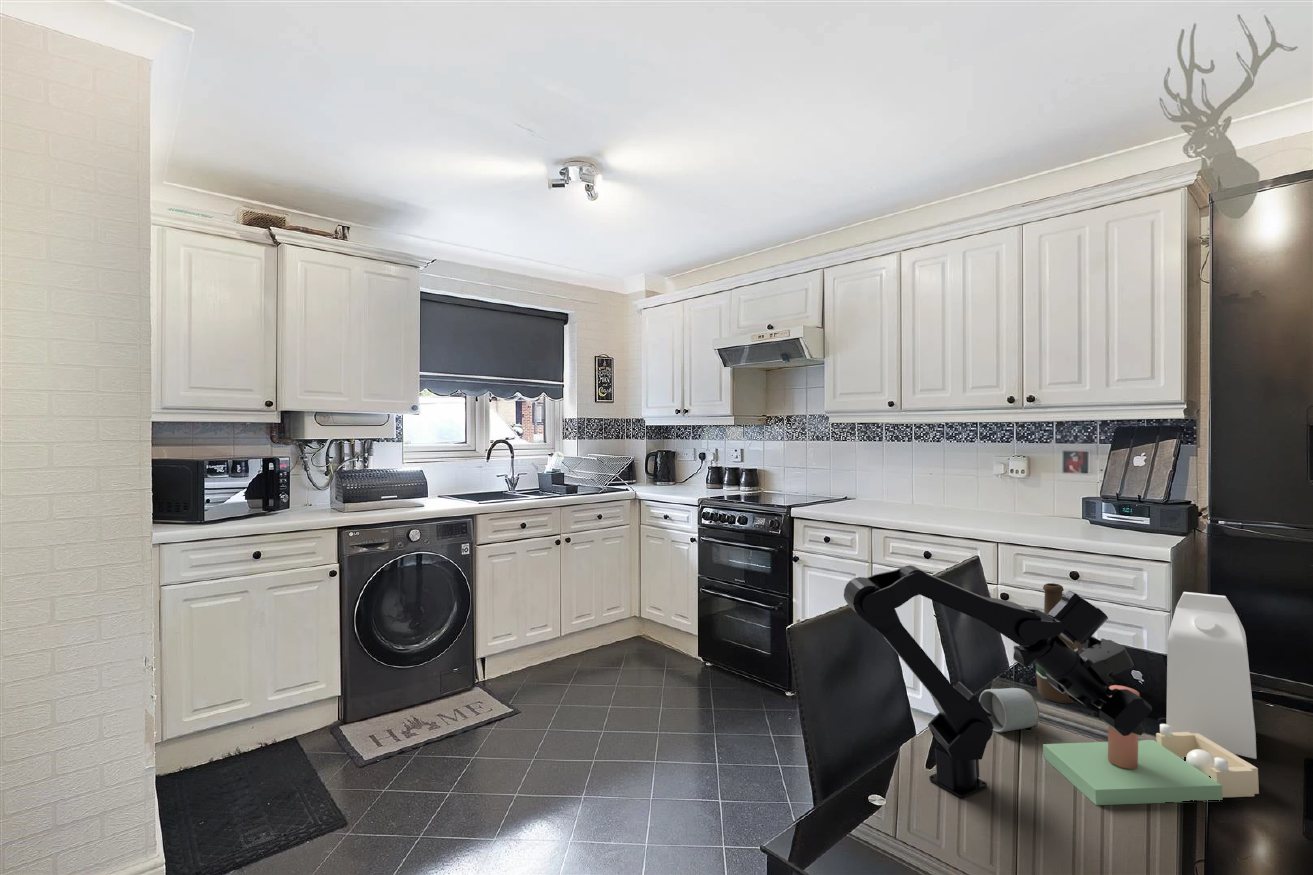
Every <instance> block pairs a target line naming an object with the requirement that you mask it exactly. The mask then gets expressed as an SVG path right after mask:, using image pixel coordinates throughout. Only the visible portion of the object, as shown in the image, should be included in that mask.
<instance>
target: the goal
mask: <svg viewBox="0 0 1313 875" xmlns="http://www.w3.org/2000/svg"><path fill="white" fill-rule="evenodd" d="M1155 739H1156V740H1155V741H1156V742H1157V743H1159V744H1160V745H1162V746H1163V747H1165V748H1166V749H1168V750H1169V751H1171V752H1172V753H1174V754H1175V755H1177V756H1178V757H1186V756H1187V754H1188V753H1189V752H1190V751H1192V750H1195V749H1200V750H1204V751H1206V752H1208V753H1210V754H1211V755H1212V756H1213V757H1214V763H1215V768H1210V777H1211V779H1213V780H1214V781H1216V782H1218V783H1219V784H1221V785H1222V797H1223V798H1241V797H1242V798H1244V797H1255V795H1259V794H1260V791H1259V790H1260V789H1259V768H1258V767H1256V766H1255V765H1253V764H1251V763H1250V762H1248V761H1246V760H1244V759H1243V758H1241V757H1239V755H1237V754H1233V753H1231V752H1229V751H1228V750H1226V749H1224V748H1223V747H1221V746H1219V745H1218V744H1216V743H1214V742H1212V741H1211V740H1209V739H1207V738H1206V737H1204V736H1202V735H1201V734H1199V733H1192V734H1191V733H1190V732H1172V727H1171V726H1170V725H1167V724H1166V723H1160V724H1159V732H1157V733H1155Z"/></svg>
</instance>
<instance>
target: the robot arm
mask: <svg viewBox="0 0 1313 875" xmlns="http://www.w3.org/2000/svg"><path fill="white" fill-rule="evenodd" d="M917 596H921V597H924V598H926V599H929V600H932V601H933V602H936V603H938V604H941V605H943V606H945V607H948V608H950V609H952V610H954V611H957V612H959V613H961V614H963V615H967V616H969V617H972V618H973V619H975V620H979V621H981V622H983V623H984V624H986V625H987V626H988V627H990V628H992V629H993V630H994V631H996V632H998V633H1000V634H1001V635H1003V636H1004V637H1006V638H1008V639H1009V640H1010V641H1012V642H1013V643H1014V644H1017V645H1014V646H1013V649H1014V652H1013V661H1015V662H1017V664H1018V663H1019V664H1020V665H1021V666H1023V667H1024V668H1028V667H1030V665H1031V664H1032V663H1033V662H1034V663H1035V665H1036V664H1037V665H1038V666H1040V667H1041V668H1042V669H1043V670H1044V671H1045V672H1046V675H1047V682H1048V683H1050V684H1051V685H1052V686H1053V687H1054V688H1055V689H1057V690H1058V691H1060V692H1061V693H1062V694H1064V693H1065V692H1067V693H1068V694H1069V698H1070V699H1071V700H1073V701H1074V703H1075V704H1077V705H1079V706H1081V707H1084V708H1085V709H1088V710H1090V711H1093V712H1095V713H1096V714H1099V720H1100V721H1102V722H1103V723H1104V724H1106V725H1107V726H1108V725H1109V726H1110V727H1111V728H1113V729H1114V730H1116V731H1117V732H1118V733H1120V734H1121V735H1123V736H1127V735H1129V734H1130V733H1134V734H1137V735H1138V736H1142V735H1143V734H1144V733H1145V731H1146V730H1145V728H1144V727H1143V724H1142V722H1143V721H1144V720H1145V719H1146V718H1147V717H1148V716H1149V715H1150V714H1151V713H1152V712H1153V707H1152V705H1151V704H1150V703H1149V702H1148V701H1147V700H1145V699H1144V698H1143V697H1141V696H1140V695H1139V696H1138V695H1136V694H1134V693H1133V692H1131V691H1129V690H1128V689H1121V690H1119V689H1113V690H1111V689H1109V687H1110V686H1112V684H1113V683H1114V682H1115V680H1114V679H1113V678H1112V676H1115V675H1118V674H1119V673H1121V672H1123V671H1125V670H1130V669H1132V668H1133V667H1134V666H1135V664H1134V663H1133V660H1132V658H1131V656H1130V655H1129V652H1128V651H1127V649H1126V646H1124V645H1122V644H1120V643H1117V642H1115V641H1113V640H1112V639H1105V638H1103V637H1102V638H1100V640H1099V639H1098V638H1096V637H1094V636H1093V635H1094V634H1096V633H1097V631H1098V630H1099V629H1100V628H1101V627H1102V626H1103V625H1104V624H1105V623H1106V622H1107V620H1109V616H1107V614H1106V613H1105V612H1104V611H1103V610H1101V609H1100V607H1097V606H1095V605H1093V604H1092V603H1090V602H1089V601H1087V599H1084V598H1082V597H1081V596H1080V595H1079V594H1078V593H1077V592H1074V591H1072V590H1067V591H1066V592H1065V593H1064V594H1063V597H1062V599H1061V600H1060V601H1059V602H1058V603H1057V605H1056V606H1055V607H1054V608H1053V609H1052V610H1051V611H1050V612H1049V613H1048V614H1046V613H1044V611H1042V610H1040V609H1035V608H1026V607H1023V606H1022V605H1020V604H1018V603H1016V602H1013V601H1009V600H1005V599H1000V598H995V597H987V596H983V595H979V594H977V593H974V592H973V591H970V590H968V589H965V588H963V587H961V586H958V585H957V584H953V583H951V582H949V581H946V580H944V579H941V578H939V577H937V576H936V575H932V574H930V573H928V572H925V571H923V570H921V569H920V568H919V567H917V566H915V565H911V564H910V565H905V566H902V567H900V568H897V569H894V570H891V571H890V570H889V571H885V572H880V573H875V574H872V575H870V576H868V577H865V576H864V577H861V576H858V577H854V578H851V579H850V580H849V581H848V582H847V583H846V585H845V587H844V590H843V598H844V601H845V602H846V604H847V605H848V606H849V607H850V608H851V609H852V610H853V611H854V612H855V613H856V614H857V616H859V618H861V619H862V620H863V621H864V622H865V623H866V624H868V625H869V626H870V627H871V628H872V629H874V631H876V632H877V633H879V635H881V636H882V637H883V638H884V640H885V641H886V642H887V643H888V644H889V646H890V647H891V648H892V649H893V651H895V652H896V654H897V655H898V656H899V657H900V659H901V660H902V662H904V664H905V665H906V667H907V668H908V669H909V670H910V671H911V672H912V673H913V675H914V676H915V677H916V678H917V679H918V681H919V682H920V683H921V685H923V687H924V688H925V689H926V690H927V691H928V693H929V694H930V696H931V698H932V701H933V703H934V707H936V709H937V711H938V713H937V714H936V715H935V716H934V717H933V718H932V719H931V721H930V722H929V723H928V724H927V726H928V729H929V731H930V733H931V736H933V737H934V738H935V739H936V740H937V741H938V742H937V746H935V747H934V751H935V768H936V773H933V774H931V775H929V776H928V778H929V781H931V782H932V783H934V784H935V785H937V786H939V787H941V788H942V789H944V790H946V791H947V792H950V793H952V794H953V795H955V796H956V797H959V798H962V799H963V798H966V797H967V796H968V797H969V796H970V795H973V794H975V793H977V792H979V791H981V790H984V789H986V788H988V783H987V782H986V781H984V780H982V779H980V763H979V762H980V761H979V760H982V759H983V757H984V754H985V750H986V748H987V744H988V742H989V741H990V740H991V738H992V736H993V732H994V731H993V729H994V727H993V724H992V722H991V720H990V719H989V718H988V717H990V716H992V714H990V713H989V712H988V711H987V710H986V709H985V708H984V707H983V706H982V705H981V704H980V702H979V699H978V698H977V696H976V695H975V694H974V692H972V691H971V690H969V688H967V687H966V686H965V685H964V684H963V683H962V682H961V681H958V682H957V683H956V684H955V685H953V684H952V683H951V682H950V681H949V680H948V678H947V677H946V676H945V674H943V673H942V671H941V670H940V668H938V666H937V665H936V664H935V663H934V662H933V660H932V659H931V658H930V656H929V655H928V654H927V653H926V652H925V650H924V649H923V648H922V647H921V645H919V643H918V642H917V640H915V638H914V637H913V636H912V635H911V633H910V632H909V631H908V630H907V628H905V627H904V625H903V624H902V622H901V619H900V617H899V615H898V613H897V611H896V609H897V608H899V607H901V606H903V605H904V604H906V603H907V602H908V601H910V600H911V599H912V598H914V597H917ZM1058 635H1061V636H1062V637H1063V638H1065V639H1066V640H1068V641H1069V642H1071V643H1073V644H1074V643H1075V642H1076V641H1077V643H1079V644H1080V645H1081V651H1082V652H1081V653H1079V652H1078V653H1077V652H1076V651H1074V650H1073V649H1072V648H1070V647H1069V646H1068V645H1067V644H1066V643H1065V642H1064V641H1063V640H1061V639H1060V638H1059V637H1058ZM1061 686H1062V687H1063V688H1062V687H1061ZM1107 686H1108V687H1107ZM1064 689H1065V690H1064ZM1109 696H1110V697H1109ZM1111 696H1112V697H1111Z"/></svg>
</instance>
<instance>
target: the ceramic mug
mask: <svg viewBox="0 0 1313 875" xmlns="http://www.w3.org/2000/svg"><path fill="white" fill-rule="evenodd" d="M978 700H979V702H980V704H981V705H982V706H983V707H984V708H985V709H986V710H987V711H988V712H989V713H990V714H992V716H990V717H988V718H989V719H990V720H991V722H992V724H993V727H994V729H993V732H995V733H1004V732H1011V731H1017V730H1023V729H1028V728H1031V727H1034V726H1035V725H1037V723H1038V722H1039V718H1040V709H1039V706H1038V703H1037V701H1036V699H1035V698H1034V696H1033V695H1032V694H1031V693H1030V692H1029V691H1028V690H1025V689H1023V688H1019V687H1018V688H1017V687H1009V688H992V689H991V688H990V689H989V688H988V689H984V690H983V691H982V692H981V693H980V695H979V699H978Z"/></svg>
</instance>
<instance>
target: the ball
mask: <svg viewBox="0 0 1313 875" xmlns="http://www.w3.org/2000/svg"><path fill="white" fill-rule="evenodd" d="M1186 762H1187V763H1189V764H1190V765H1192V766H1193V767H1195V768H1197V769H1198V770H1200V771H1201V772H1203V773H1204V774H1206V775H1207V776H1210V768H1215V763H1214V757H1213V756H1212V755H1211V754H1210V753H1208V752H1206V751H1204V750H1200V749H1195V750H1192V751H1190V752H1189V753H1188V754H1187V756H1186Z"/></svg>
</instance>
